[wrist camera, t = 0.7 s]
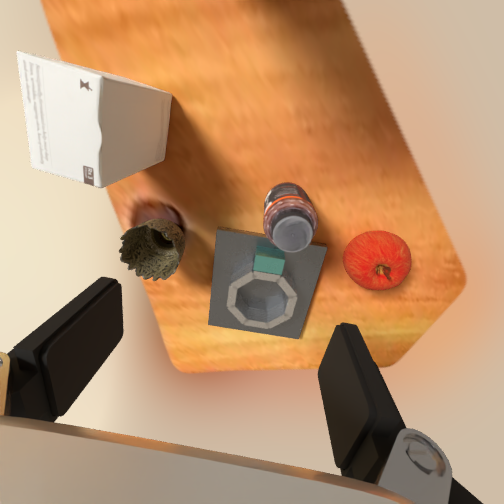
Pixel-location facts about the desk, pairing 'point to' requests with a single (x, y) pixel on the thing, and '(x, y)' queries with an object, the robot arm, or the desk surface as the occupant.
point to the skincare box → (91, 121)
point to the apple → (377, 260)
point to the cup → (153, 248)
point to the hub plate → (262, 283)
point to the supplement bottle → (289, 218)
